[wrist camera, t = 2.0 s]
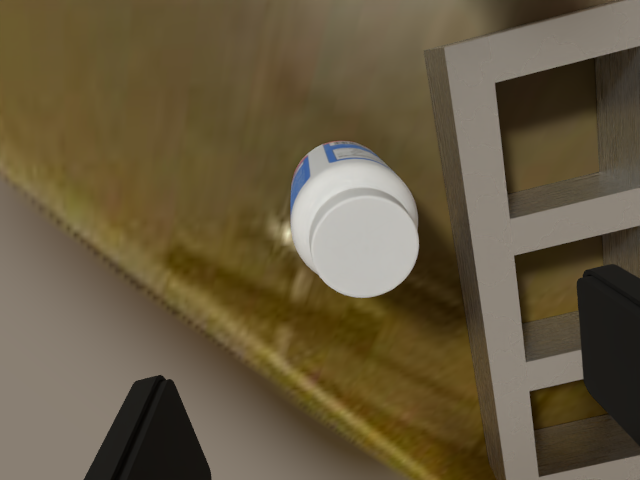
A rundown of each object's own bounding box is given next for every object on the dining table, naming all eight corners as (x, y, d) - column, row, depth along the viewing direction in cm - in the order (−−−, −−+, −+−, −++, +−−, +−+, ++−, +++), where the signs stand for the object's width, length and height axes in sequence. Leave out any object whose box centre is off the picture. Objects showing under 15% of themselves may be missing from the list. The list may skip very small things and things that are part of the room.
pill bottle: (326, 251, 28) (339, 342, 18) (271, 176, 26) (257, 234, 17) (407, 199, 27) (463, 267, 18) (355, 118, 25) (388, 145, 16)
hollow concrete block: (423, 50, 24) (444, 47, 21) (632, -4, 24) (688, -16, 20) (488, 463, 33) (510, 507, 30) (639, 430, 33) (678, 471, 30)
